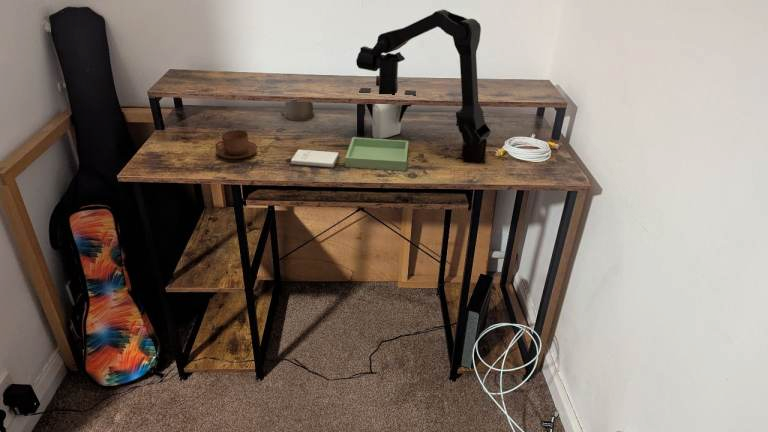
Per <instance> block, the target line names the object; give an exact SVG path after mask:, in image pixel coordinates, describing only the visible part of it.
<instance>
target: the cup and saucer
mask: <svg viewBox="0 0 768 432" xmlns="http://www.w3.org/2000/svg"><path fill="white" fill-rule="evenodd" d="M257 151H258V145H257V144H256V143H255V142H252V141H250V140H249V134H248V132H246V131H245V130H238V129H235V130H234V129H233V130H228V131H225V132H224V133H222V134H221V140H219V141H217V142H216V143H215V153H216V155H218V156H220V157H221V158H224V159H228V160H241V159H245V158H249V157H251V156H252V155H254V154H255V153H256V152H257Z"/></svg>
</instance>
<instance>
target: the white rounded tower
mask: <svg viewBox="0 0 768 432" xmlns="http://www.w3.org/2000/svg"><path fill="white" fill-rule="evenodd" d="M401 107H402V104H401V105H391V104H376V103H375V104H374V106H373V120H372V125H371V127H372V128H371V129H372V133H371V136H372V139H387V138H390V137H394V136H397V135H399V134H401V129H402V128H401V126H402V125H401V124H402V121H401V122H400V123H399V117H400V112H401Z"/></svg>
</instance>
